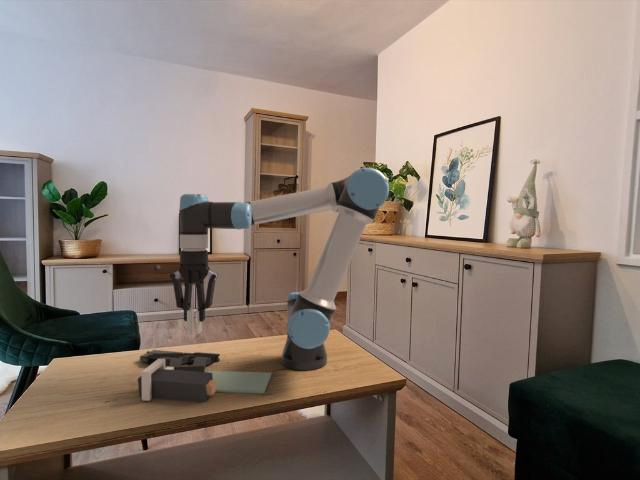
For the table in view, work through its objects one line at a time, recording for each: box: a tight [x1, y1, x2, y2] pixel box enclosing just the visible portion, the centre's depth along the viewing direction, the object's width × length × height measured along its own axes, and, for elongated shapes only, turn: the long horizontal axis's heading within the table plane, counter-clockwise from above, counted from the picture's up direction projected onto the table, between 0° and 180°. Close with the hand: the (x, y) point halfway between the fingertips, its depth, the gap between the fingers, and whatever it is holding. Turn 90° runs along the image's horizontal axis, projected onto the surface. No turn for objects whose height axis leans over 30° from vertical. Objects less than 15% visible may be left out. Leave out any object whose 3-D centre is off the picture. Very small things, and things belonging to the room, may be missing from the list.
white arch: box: [140, 359, 174, 402], centre depth 98 cm, size 2×14×7 cm, turn 178°
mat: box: [205, 370, 273, 394], centre depth 103 cm, size 26×12×1 cm, turn 88°
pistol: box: [139, 349, 221, 372], centre depth 114 cm, size 2×26×15 cm
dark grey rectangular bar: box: [137, 369, 217, 404], centre depth 95 cm, size 20×5×5 cm, turn 82°
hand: (194, 332), depth 103 cm, fingers closed
